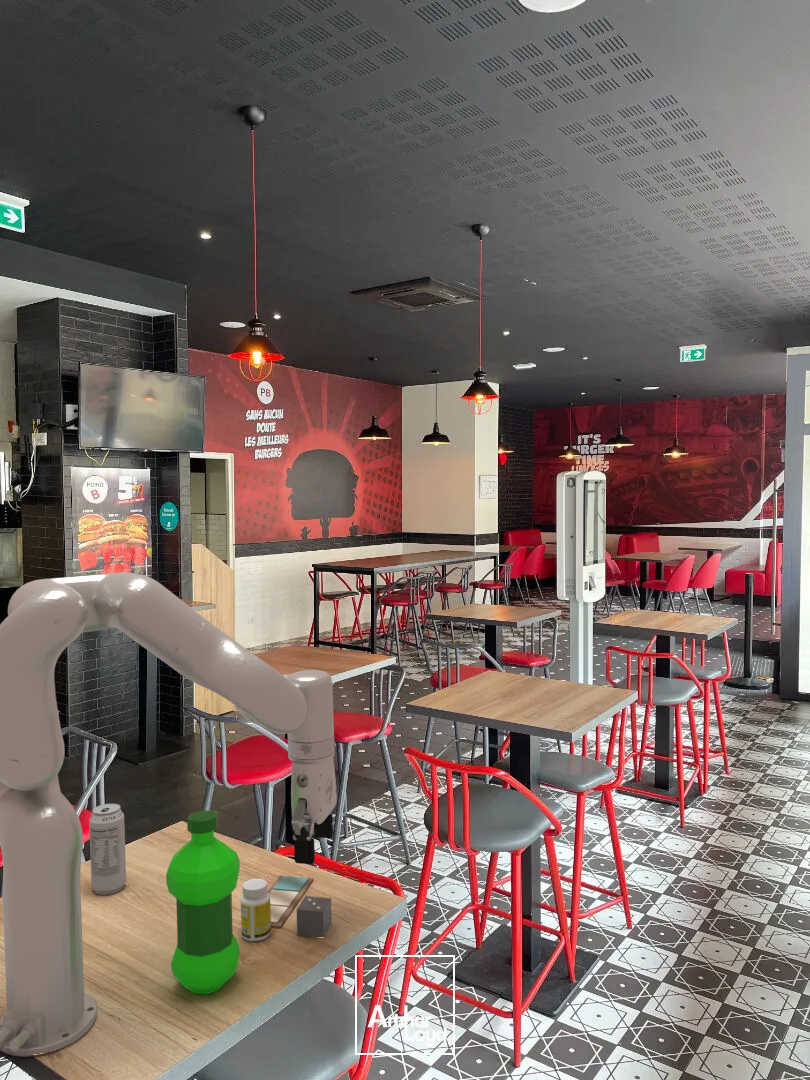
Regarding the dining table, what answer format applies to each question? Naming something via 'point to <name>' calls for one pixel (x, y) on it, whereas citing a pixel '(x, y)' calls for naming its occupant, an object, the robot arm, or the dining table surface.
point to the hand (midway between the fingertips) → (314, 849)
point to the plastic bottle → (204, 907)
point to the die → (314, 916)
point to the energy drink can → (107, 849)
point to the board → (286, 897)
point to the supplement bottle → (255, 910)
